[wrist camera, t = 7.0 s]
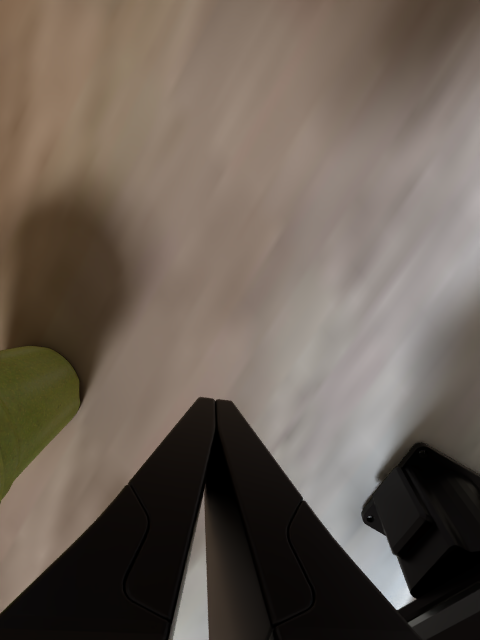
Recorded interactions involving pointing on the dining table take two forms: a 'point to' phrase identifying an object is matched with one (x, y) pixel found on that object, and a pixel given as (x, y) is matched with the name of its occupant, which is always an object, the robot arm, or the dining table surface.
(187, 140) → the dining table surface
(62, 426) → the plant pot
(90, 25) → the dining table surface
